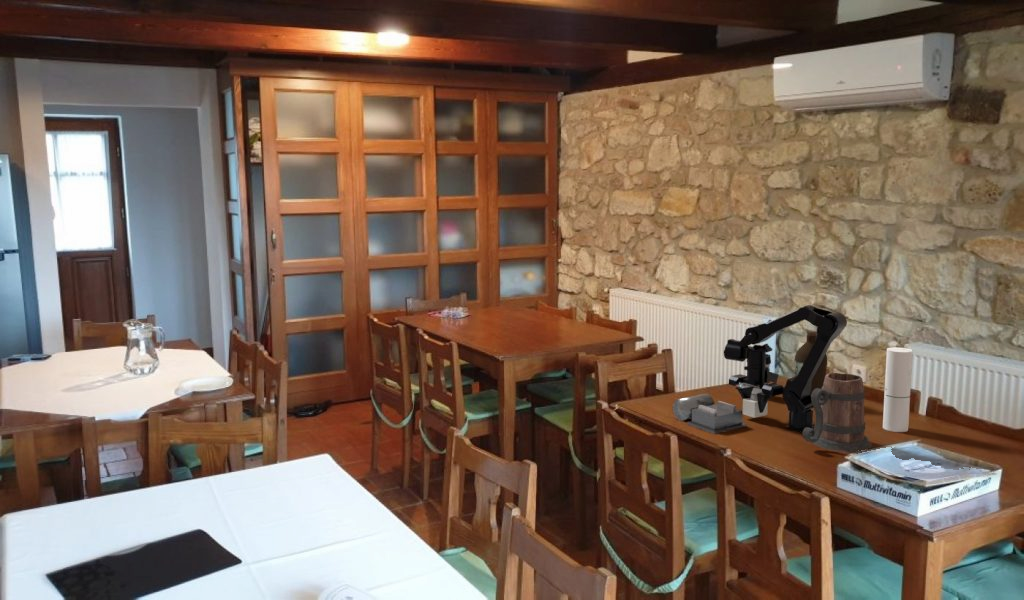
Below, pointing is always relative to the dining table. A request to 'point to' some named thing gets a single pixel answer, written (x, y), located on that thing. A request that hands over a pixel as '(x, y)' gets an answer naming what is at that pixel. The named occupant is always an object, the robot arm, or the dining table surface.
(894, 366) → the cylindrical container
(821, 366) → the olive oil
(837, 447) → the tankard
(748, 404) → the white knobbed block
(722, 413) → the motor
